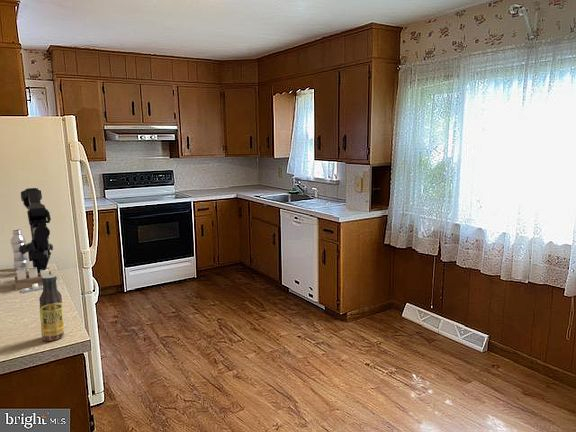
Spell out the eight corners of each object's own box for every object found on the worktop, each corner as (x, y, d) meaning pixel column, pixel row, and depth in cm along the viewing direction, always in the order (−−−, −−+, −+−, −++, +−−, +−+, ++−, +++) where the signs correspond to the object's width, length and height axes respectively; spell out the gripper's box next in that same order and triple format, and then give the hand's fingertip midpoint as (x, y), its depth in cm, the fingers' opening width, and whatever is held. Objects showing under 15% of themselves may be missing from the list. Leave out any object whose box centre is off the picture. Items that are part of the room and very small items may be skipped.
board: (15, 284, 190) (14, 276, 190) (51, 278, 198) (50, 271, 197) (16, 290, 182) (15, 282, 182) (53, 284, 190) (52, 276, 189)
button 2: (41, 280, 193) (40, 269, 192) (49, 279, 194) (48, 268, 194) (41, 282, 190) (40, 271, 189) (50, 281, 192) (48, 270, 191)
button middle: (29, 279, 190) (28, 268, 189) (37, 277, 192) (36, 267, 191) (29, 280, 187) (28, 269, 187) (38, 279, 189) (36, 268, 188)
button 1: (17, 281, 188) (16, 269, 187) (26, 279, 189) (25, 268, 189) (17, 282, 185) (16, 271, 184) (26, 281, 187) (25, 270, 186)
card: (21, 290, 182) (20, 285, 182) (48, 285, 187) (47, 280, 187) (21, 293, 178) (21, 287, 178) (49, 288, 184) (48, 283, 183)
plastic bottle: (24, 271, 211) (19, 231, 208) (11, 271, 211) (5, 231, 208) (32, 267, 218) (27, 228, 215) (19, 267, 218) (14, 229, 215)
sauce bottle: (43, 344, 130) (36, 280, 127) (41, 337, 135) (33, 276, 132) (67, 338, 134) (60, 276, 131) (64, 331, 139) (57, 272, 136)
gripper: (23, 233, 195) (28, 266, 197) (14, 241, 178) (18, 278, 180) (51, 231, 199) (55, 264, 201) (44, 239, 181) (48, 274, 184)
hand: (44, 270), depth 191 cm, fingers closed, pressing on button 2
